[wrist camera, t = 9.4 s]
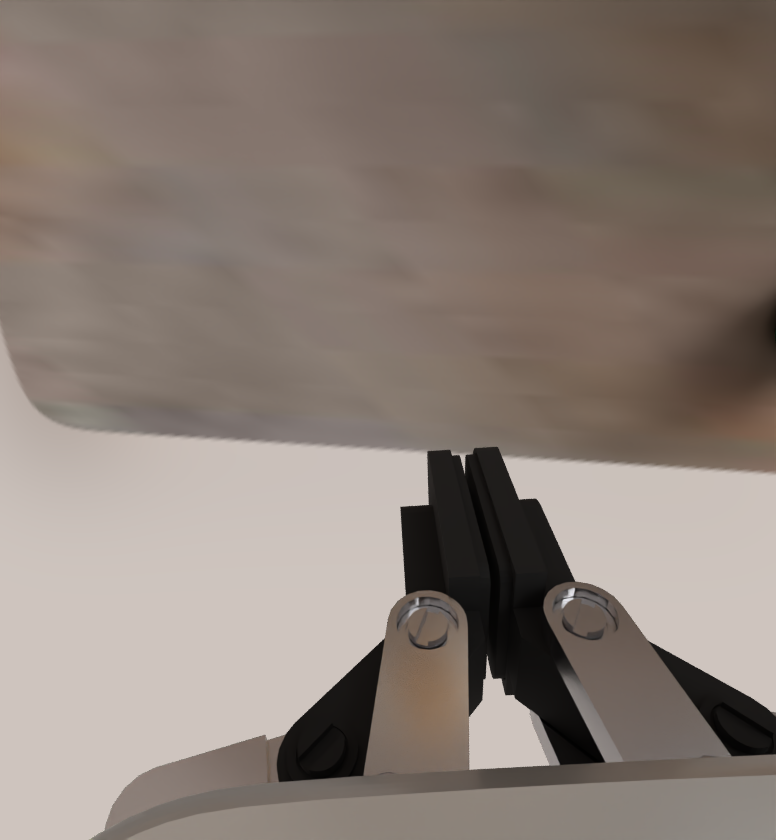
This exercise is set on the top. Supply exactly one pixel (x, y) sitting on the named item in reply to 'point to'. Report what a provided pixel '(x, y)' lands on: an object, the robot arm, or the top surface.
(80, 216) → the top surface
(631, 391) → the top surface
